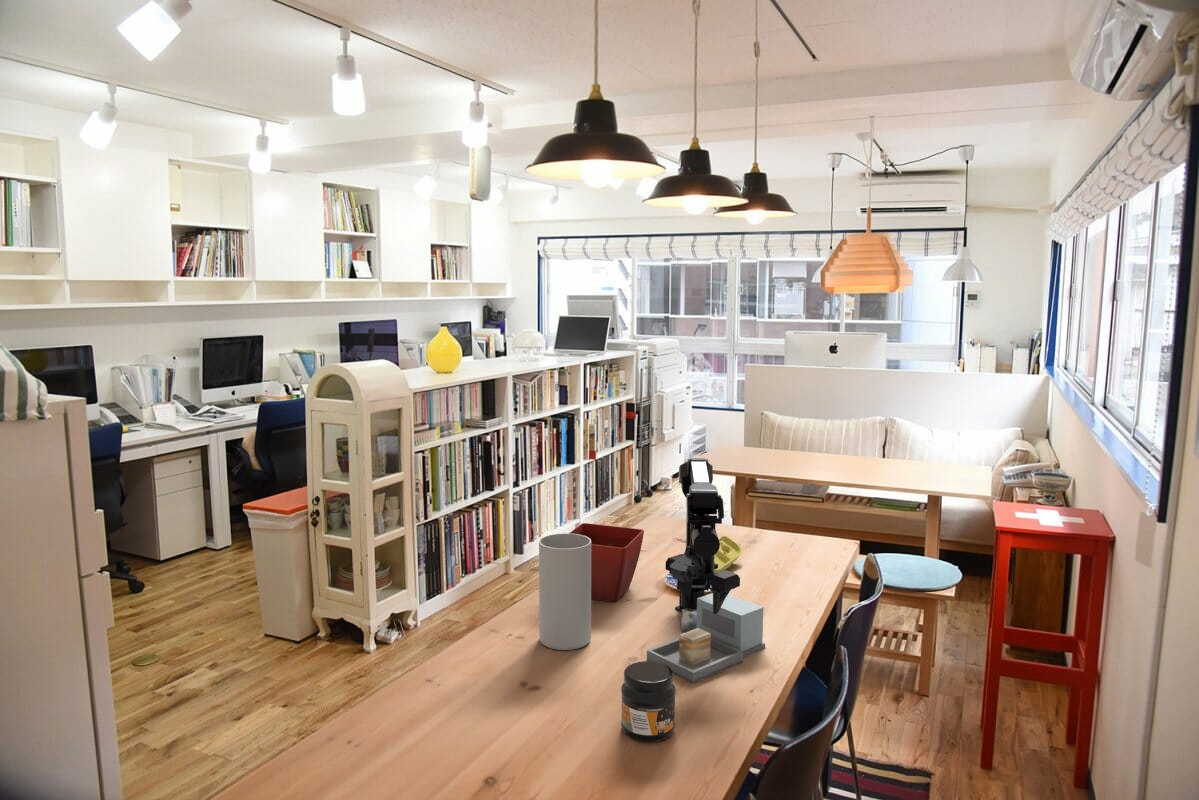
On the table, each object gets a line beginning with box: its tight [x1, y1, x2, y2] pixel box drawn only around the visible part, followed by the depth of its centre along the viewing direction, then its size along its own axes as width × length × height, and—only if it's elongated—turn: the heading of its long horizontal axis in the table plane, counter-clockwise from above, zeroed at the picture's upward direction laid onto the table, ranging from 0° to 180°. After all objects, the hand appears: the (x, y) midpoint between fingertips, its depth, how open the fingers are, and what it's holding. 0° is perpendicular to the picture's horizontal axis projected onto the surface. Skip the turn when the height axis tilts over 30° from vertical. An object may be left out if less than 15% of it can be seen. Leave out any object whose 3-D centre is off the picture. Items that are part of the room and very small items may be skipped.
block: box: [678, 628, 711, 665], centre depth 192 cm, size 4×6×6 cm
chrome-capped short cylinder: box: [680, 608, 697, 633], centre depth 210 cm, size 4×4×5 cm
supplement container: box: [620, 660, 677, 743], centre depth 162 cm, size 10×10×12 cm
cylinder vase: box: [538, 532, 592, 651], centre depth 202 cm, size 12×12×25 cm
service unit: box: [696, 592, 766, 658], centre depth 202 cm, size 15×9×10 cm, turn 40°
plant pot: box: [569, 522, 645, 603], centre depth 235 cm, size 19×19×17 cm
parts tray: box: [646, 637, 744, 684], centre depth 192 cm, size 15×17×2 cm
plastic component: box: [714, 535, 743, 573], centre depth 258 cm, size 20×7×10 cm
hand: (700, 607), depth 194 cm, fingers open, 9 cm apart
